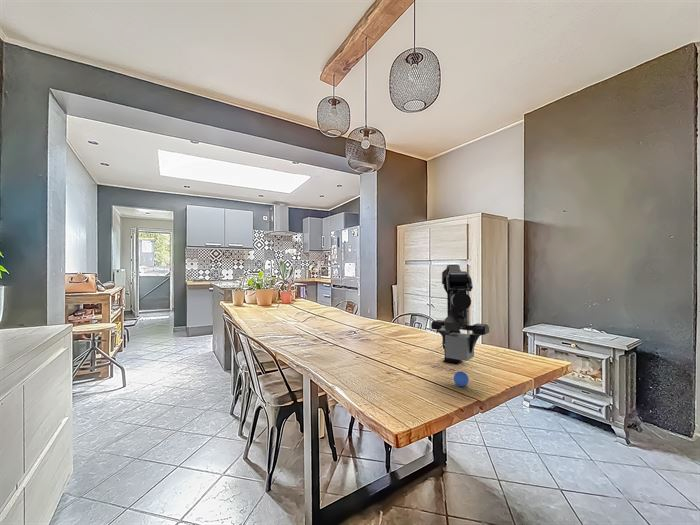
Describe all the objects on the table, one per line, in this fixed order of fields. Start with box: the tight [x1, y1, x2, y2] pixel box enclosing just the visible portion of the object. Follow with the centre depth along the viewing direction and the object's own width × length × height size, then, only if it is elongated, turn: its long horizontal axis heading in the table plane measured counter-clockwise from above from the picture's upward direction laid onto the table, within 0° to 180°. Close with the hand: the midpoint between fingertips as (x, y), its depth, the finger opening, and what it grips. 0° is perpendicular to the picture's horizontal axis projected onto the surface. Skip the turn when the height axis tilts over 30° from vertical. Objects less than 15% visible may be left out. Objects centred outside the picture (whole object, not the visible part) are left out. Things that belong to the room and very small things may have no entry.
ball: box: [453, 370, 470, 387], centre depth 107 cm, size 5×5×5 cm
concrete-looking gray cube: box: [444, 332, 475, 362], centre depth 107 cm, size 8×8×8 cm
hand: (459, 351), depth 106 cm, fingers closed on concrete-looking gray cube, 7 cm apart
